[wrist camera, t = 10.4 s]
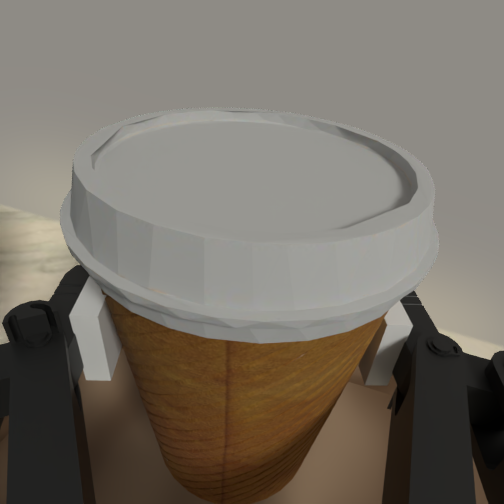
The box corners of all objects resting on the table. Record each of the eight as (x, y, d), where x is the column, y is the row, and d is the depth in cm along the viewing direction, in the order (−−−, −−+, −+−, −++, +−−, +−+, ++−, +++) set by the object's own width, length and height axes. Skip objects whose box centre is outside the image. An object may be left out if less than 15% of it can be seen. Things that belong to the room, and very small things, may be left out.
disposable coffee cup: (211, 316, 22) (215, 90, 15) (376, 400, 18) (479, 149, 11) (63, 455, 15) (-51, 154, 8) (279, 640, 11) (400, 361, 4)
